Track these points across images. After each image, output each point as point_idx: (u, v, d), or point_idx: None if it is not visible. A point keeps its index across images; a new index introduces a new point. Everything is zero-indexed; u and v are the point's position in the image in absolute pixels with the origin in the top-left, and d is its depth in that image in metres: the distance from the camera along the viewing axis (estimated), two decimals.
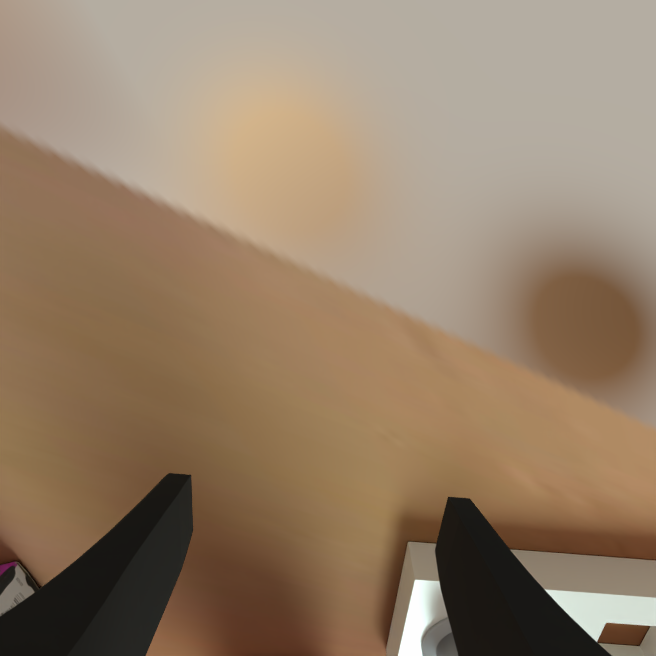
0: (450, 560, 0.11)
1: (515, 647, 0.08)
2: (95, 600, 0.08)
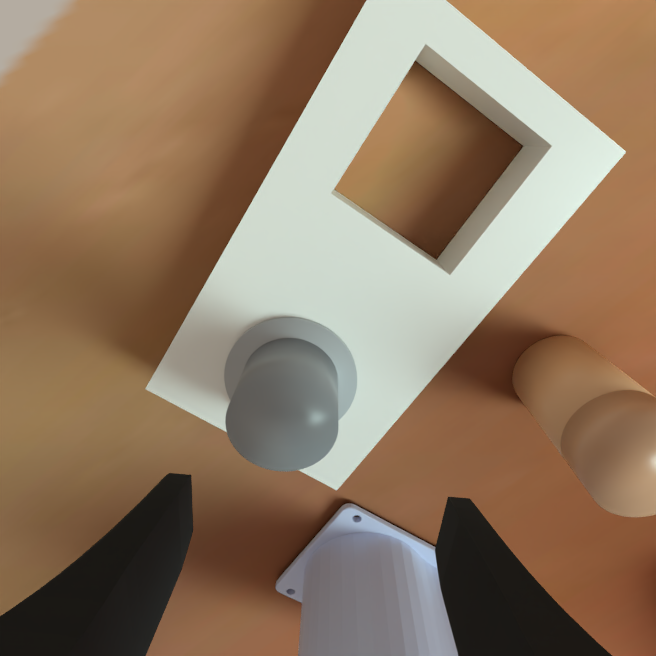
0: (450, 560, 0.11)
1: (515, 647, 0.08)
2: (95, 600, 0.08)
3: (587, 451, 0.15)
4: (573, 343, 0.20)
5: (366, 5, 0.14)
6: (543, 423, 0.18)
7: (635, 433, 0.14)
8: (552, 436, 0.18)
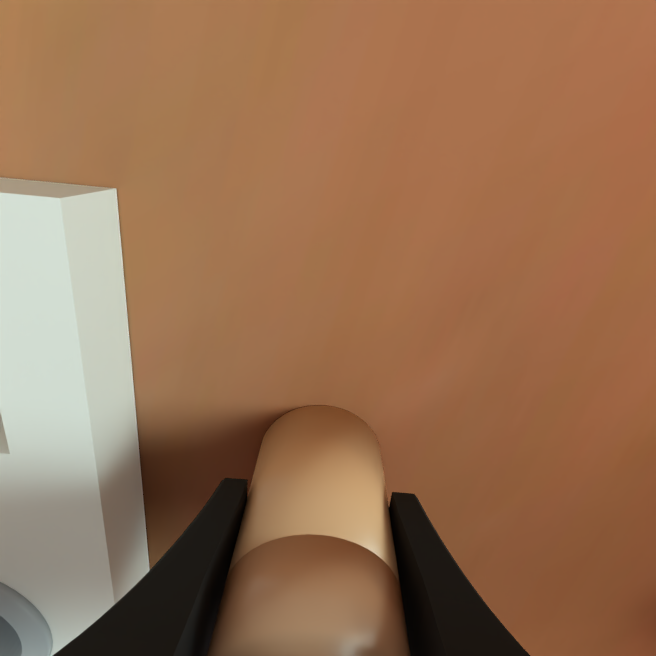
0: None
1: (432, 641, 0.08)
2: (182, 606, 0.08)
3: None
4: (288, 427, 0.13)
5: None
6: None
7: None
8: None
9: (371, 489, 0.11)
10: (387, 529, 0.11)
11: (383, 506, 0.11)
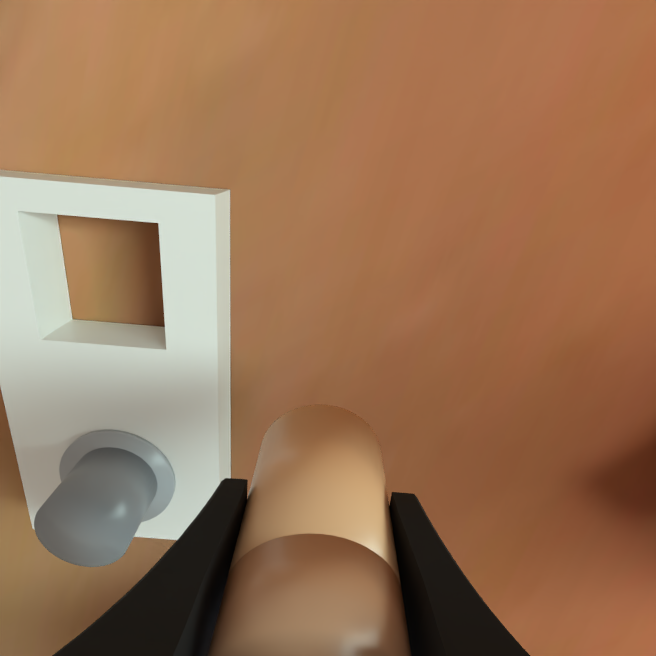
0: None
1: (432, 640, 0.08)
2: (181, 607, 0.08)
3: None
4: (288, 427, 0.13)
5: None
6: None
7: None
8: None
9: (372, 488, 0.11)
10: (388, 528, 0.11)
11: (384, 505, 0.11)
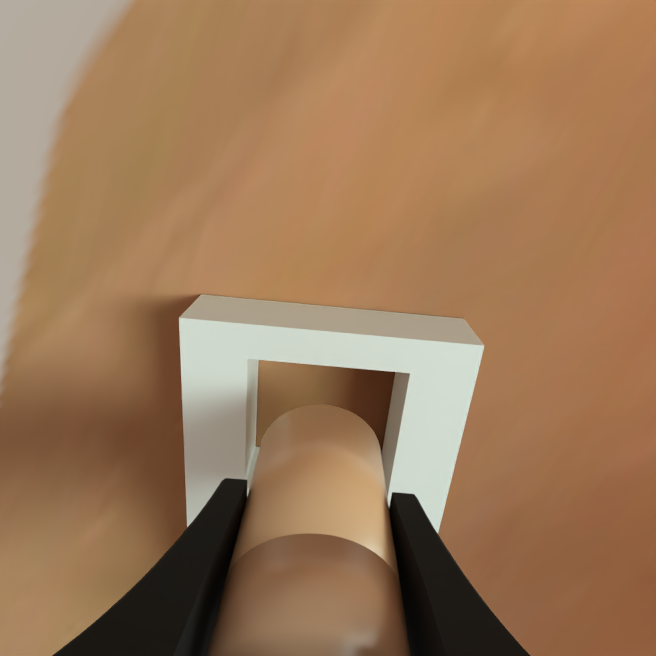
0: None
1: (431, 640, 0.08)
2: (182, 607, 0.08)
3: None
4: (287, 427, 0.13)
5: (182, 357, 0.15)
6: None
7: None
8: None
9: (370, 488, 0.11)
10: (387, 527, 0.11)
11: (383, 504, 0.11)
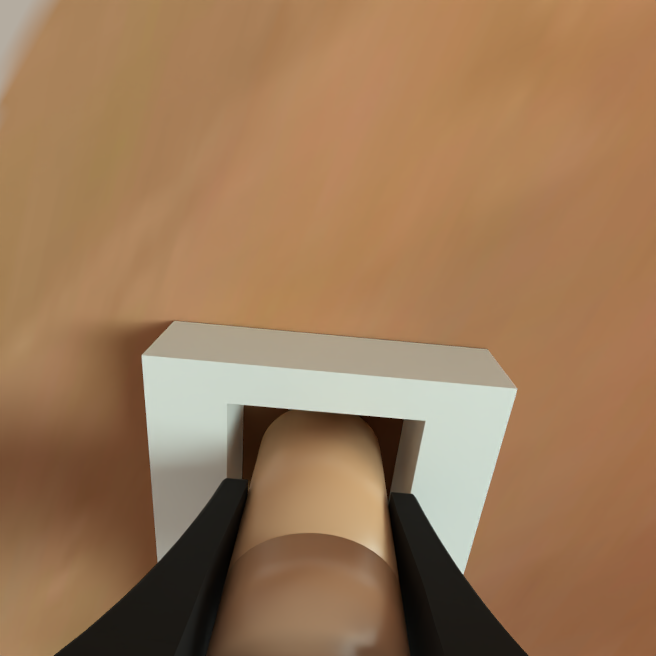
0: None
1: (430, 640, 0.08)
2: (182, 606, 0.08)
3: None
4: (287, 427, 0.13)
5: (148, 402, 0.12)
6: None
7: None
8: None
9: (370, 487, 0.11)
10: (386, 527, 0.11)
11: (382, 504, 0.11)
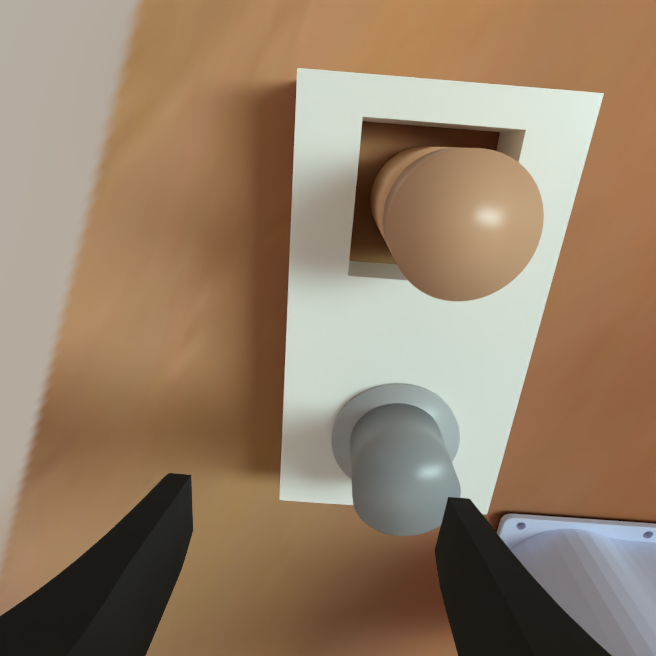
0: (450, 560, 0.11)
1: (515, 647, 0.08)
2: (95, 600, 0.08)
3: (390, 247, 0.12)
4: (401, 153, 0.16)
5: (297, 117, 0.15)
6: None
7: (411, 194, 0.11)
8: None
9: None
10: None
11: None
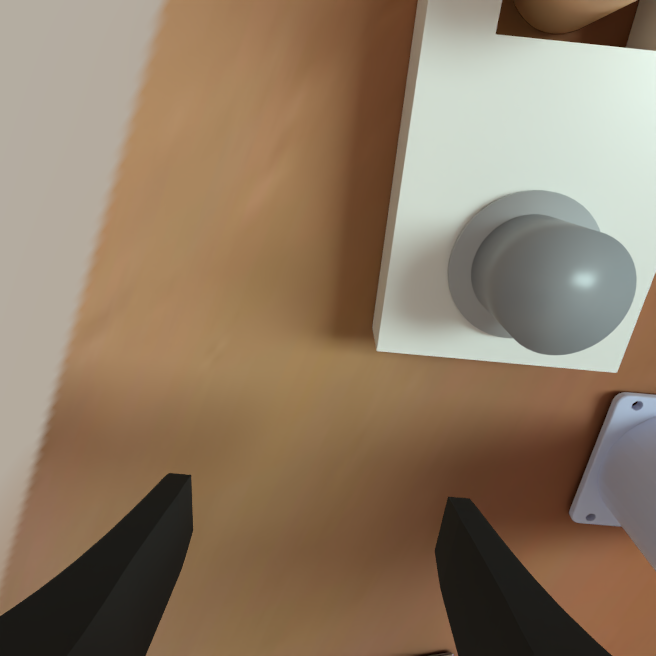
0: (450, 560, 0.11)
1: (515, 647, 0.08)
2: (95, 600, 0.08)
3: None
4: None
5: None
6: None
7: None
8: None
9: None
10: None
11: None
